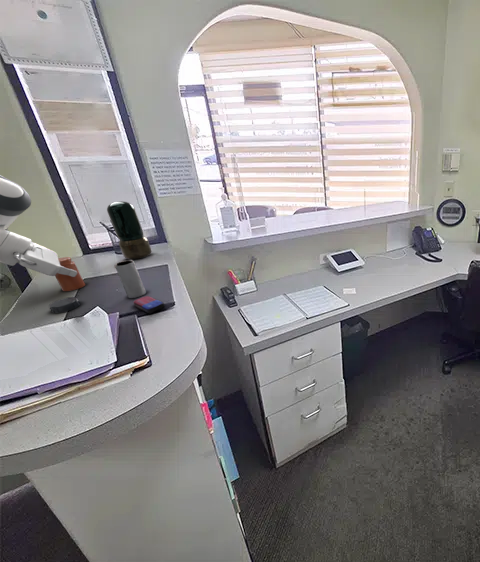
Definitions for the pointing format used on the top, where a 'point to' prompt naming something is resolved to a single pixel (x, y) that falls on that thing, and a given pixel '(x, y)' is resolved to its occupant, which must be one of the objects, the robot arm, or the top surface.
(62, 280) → the jar
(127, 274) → the planter
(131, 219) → the lamp
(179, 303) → the top surface
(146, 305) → the eraser
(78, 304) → the jar lid
